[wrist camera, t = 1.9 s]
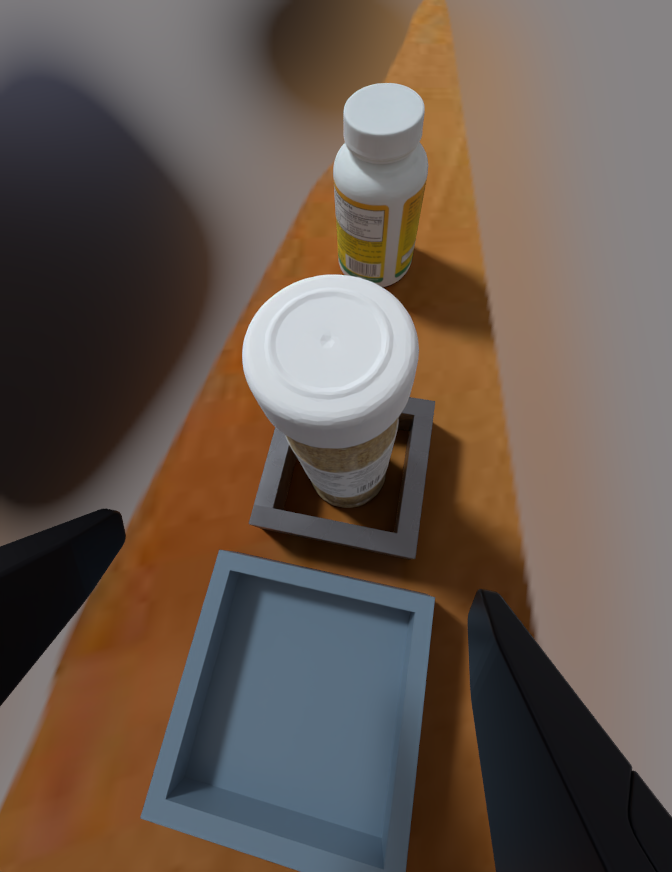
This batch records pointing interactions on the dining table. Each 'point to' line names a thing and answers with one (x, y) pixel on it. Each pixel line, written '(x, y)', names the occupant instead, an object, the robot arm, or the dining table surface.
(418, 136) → the supplement bottle
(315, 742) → the tray
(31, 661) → the robot arm
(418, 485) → the bottle holder
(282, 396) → the sprinkles bottle
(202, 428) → the dining table surface
